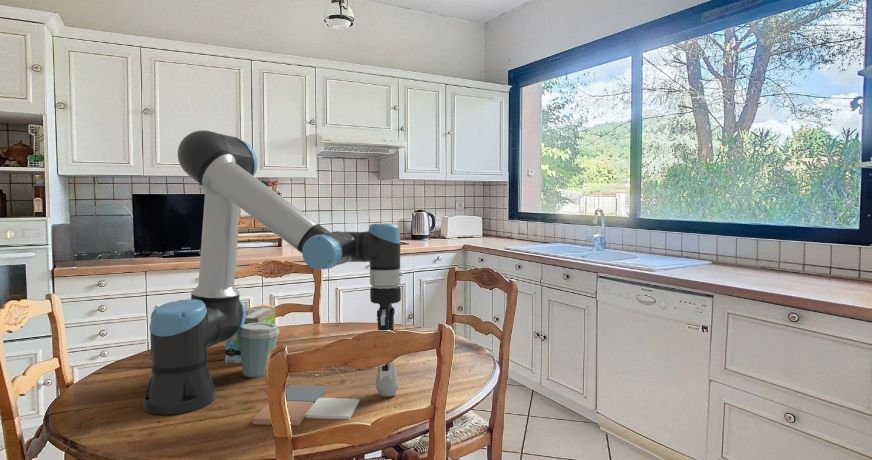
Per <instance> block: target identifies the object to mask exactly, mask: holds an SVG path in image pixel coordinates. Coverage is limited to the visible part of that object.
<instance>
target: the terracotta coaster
mask: <svg viewBox="0 0 872 460" xmlns="http://www.w3.org/2000/svg"><path fill="white" fill-rule="evenodd" d="M287 405H288V411H289V415H290V421H291V425H290V426H300V424H301V423H302V422H303V420H304V419H306V418H305V414H306V413H307V412H308V410H309V409H310V408H311V407H312V405H313V402H304V401H287ZM252 425H268V426H269V425H271V420H270V413H269V408H268V403H267V404H266V405H265V406H264V407H263V408H262V409H261V410H260V411H259V412H258V413H257V414H255V416H254V417H253V418H252ZM271 426H272V425H271Z"/></svg>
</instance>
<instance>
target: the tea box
mask: <svg viewBox="0 0 872 460" xmlns="http://www.w3.org/2000/svg"><path fill="white" fill-rule="evenodd" d="M245 311H246V318H245V322H244V325H245V324H249V323H258V322H260V323H271V324H275V325H276V308H274V307H273V308H271V307H269V308H268V307H266V308H265V307H264V308H263V307H262V308H261V307H260V308H259V307H257V308H256V307H245ZM224 344H225V348H224V351H225V352H224V353H225V355H224V362H225V364H230V363H231V364H242V360H241V350H240V340H239V334H238V333H237V334H235V335H234V336H232V337H231V338H230V339H228V340H226V341H224Z"/></svg>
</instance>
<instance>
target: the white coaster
mask: <svg viewBox="0 0 872 460" xmlns="http://www.w3.org/2000/svg"><path fill="white" fill-rule="evenodd" d="M360 400H361V399H360V398H339V397H338V398H335V397H320V398H318V399H317V400H316V402H315V403H314V404H313V405H312V407H311V408H310V409H309V410H308V412H307V413H306V414H305V418H304V419H327V420H328V419H329V420H330V419H331V420H332V419H334V420H350V419H351V418H352V416H353V414H354V412H355V411H356V409H357V407H358V405H359V404H360V402H361V401H360Z"/></svg>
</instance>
